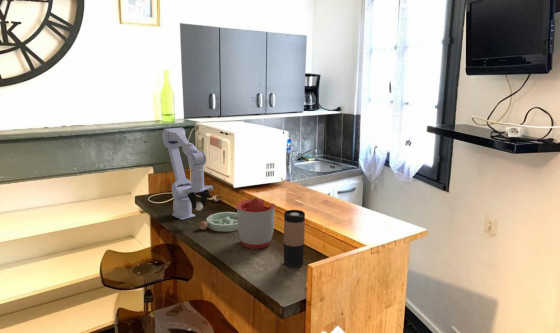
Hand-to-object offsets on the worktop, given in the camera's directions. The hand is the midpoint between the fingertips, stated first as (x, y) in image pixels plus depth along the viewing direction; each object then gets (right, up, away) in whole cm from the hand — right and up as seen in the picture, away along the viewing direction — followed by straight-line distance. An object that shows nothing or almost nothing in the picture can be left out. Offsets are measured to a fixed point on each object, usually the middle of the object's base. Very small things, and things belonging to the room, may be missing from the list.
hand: (198, 207), depth 186 cm
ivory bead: (0, -1, 0) cm, 1 cm away
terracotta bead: (+3, -10, -3) cm, 11 cm away
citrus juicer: (+28, -14, -17) cm, 35 cm away
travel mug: (+43, -18, -35) cm, 58 cm away
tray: (+12, -8, +4) cm, 15 cm away
